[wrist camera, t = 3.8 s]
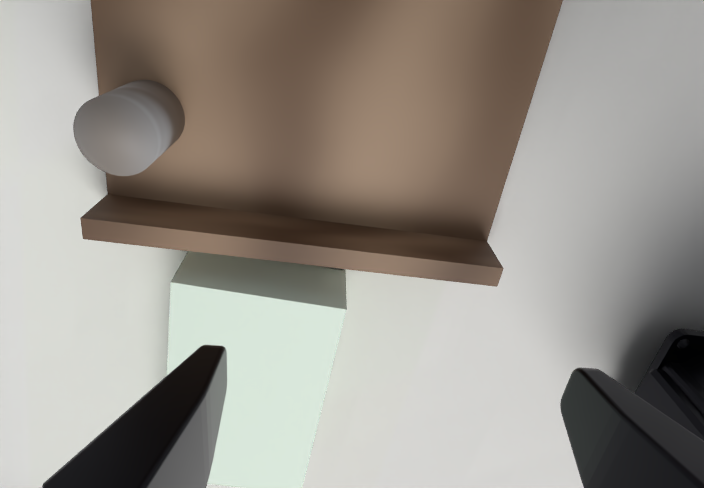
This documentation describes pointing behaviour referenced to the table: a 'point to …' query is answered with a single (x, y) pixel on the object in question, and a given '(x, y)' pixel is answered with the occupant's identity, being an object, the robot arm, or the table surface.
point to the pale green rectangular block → (261, 357)
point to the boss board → (312, 128)
